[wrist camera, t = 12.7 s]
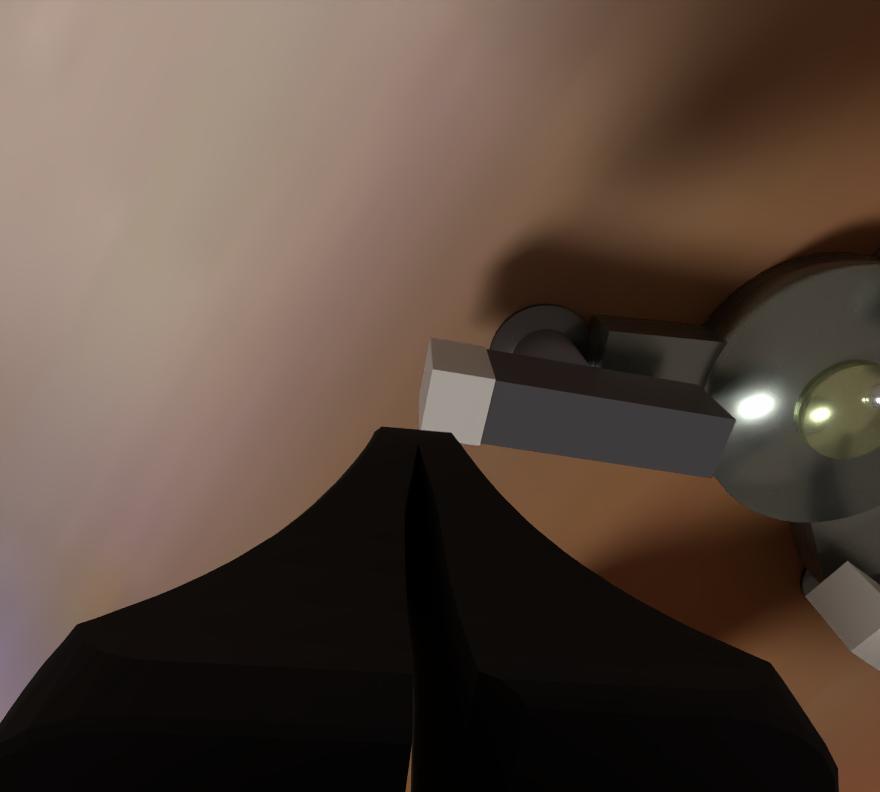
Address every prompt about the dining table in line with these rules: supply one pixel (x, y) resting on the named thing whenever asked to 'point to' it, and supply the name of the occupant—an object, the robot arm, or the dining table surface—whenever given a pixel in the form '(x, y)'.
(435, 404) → the post
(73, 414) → the dining table surface
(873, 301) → the levelling base
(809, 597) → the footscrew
